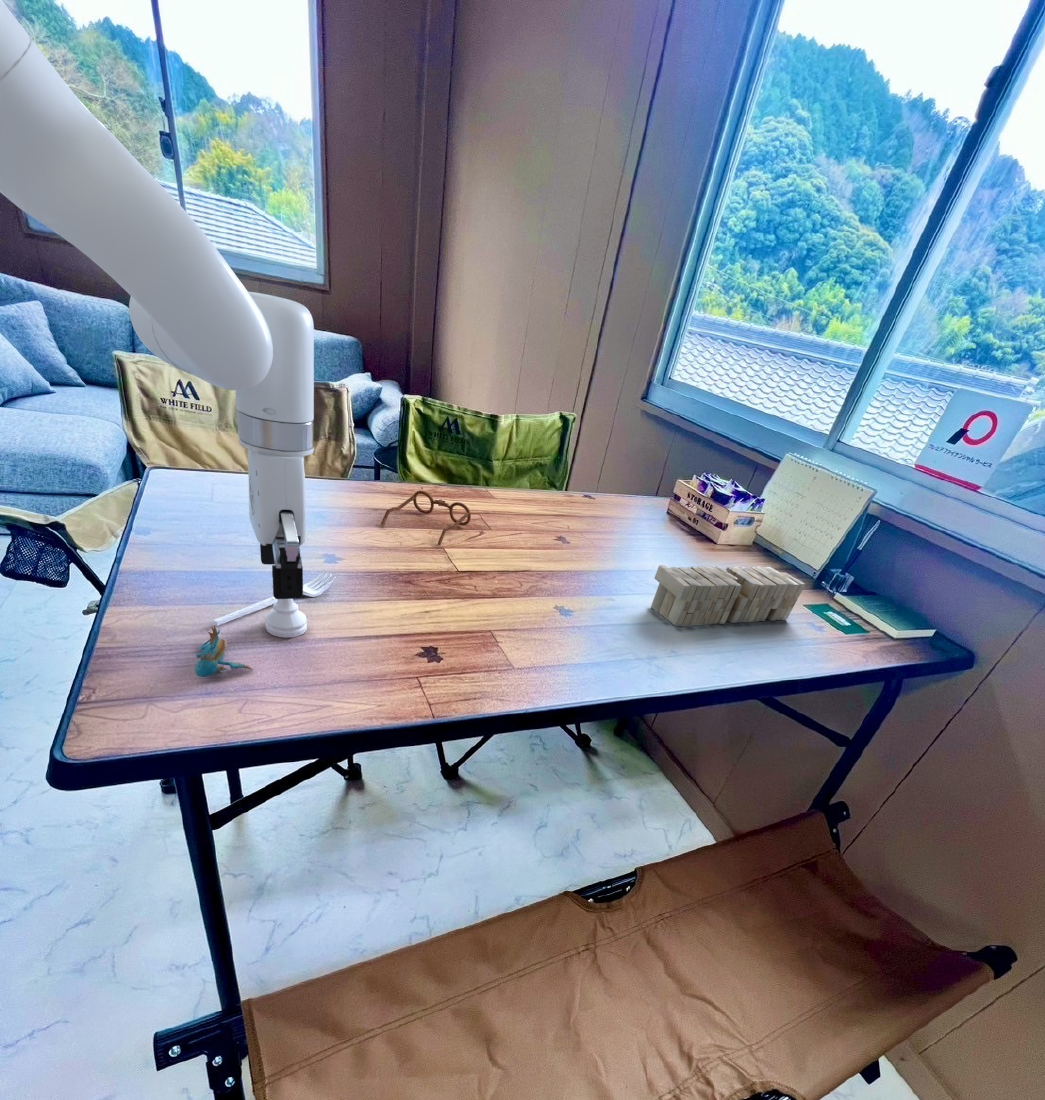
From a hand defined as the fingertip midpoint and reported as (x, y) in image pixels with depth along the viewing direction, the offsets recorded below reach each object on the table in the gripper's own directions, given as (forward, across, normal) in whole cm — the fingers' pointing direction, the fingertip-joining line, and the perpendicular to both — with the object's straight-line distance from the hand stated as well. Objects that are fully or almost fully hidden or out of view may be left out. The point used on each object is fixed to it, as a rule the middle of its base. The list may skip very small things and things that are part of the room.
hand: (281, 579), depth 72 cm
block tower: (+6, +5, +75) cm, 75 cm away
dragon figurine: (+7, +6, -8) cm, 13 cm away
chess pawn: (+7, 0, 0) cm, 7 cm away
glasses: (+6, -36, +33) cm, 49 cm away
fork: (+7, -7, +1) cm, 10 cm away
